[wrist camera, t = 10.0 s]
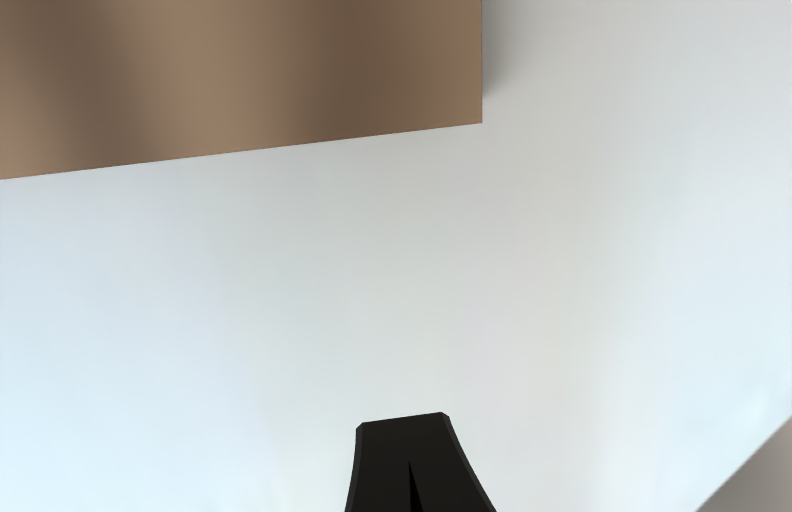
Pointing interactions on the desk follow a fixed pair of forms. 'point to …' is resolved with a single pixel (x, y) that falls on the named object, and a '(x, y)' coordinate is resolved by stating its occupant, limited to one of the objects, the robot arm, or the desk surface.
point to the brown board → (225, 76)
